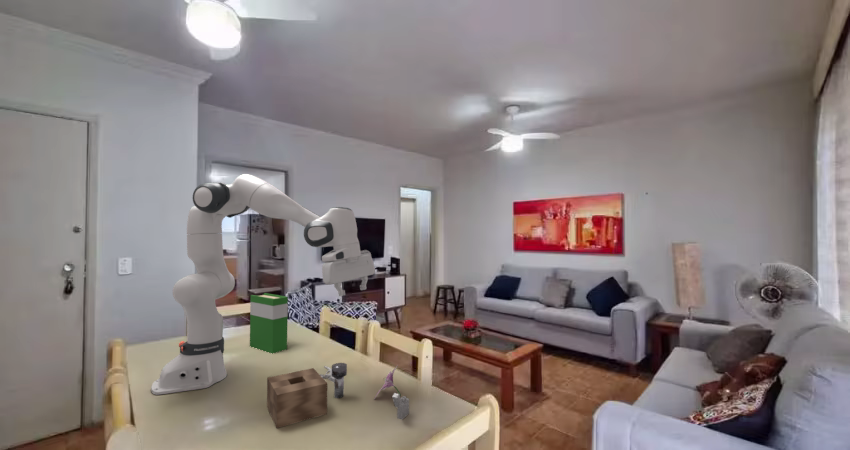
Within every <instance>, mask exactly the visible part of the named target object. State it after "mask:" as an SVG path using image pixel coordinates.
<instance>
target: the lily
mask: <svg viewBox="0 0 850 450" xmlns="http://www.w3.org/2000/svg"><path fill="white" fill-rule="evenodd" d="M398 365H399V364H397V365H396V366H395V368H394V369H393V370H392V371H390V370H389V372H388V373H387V375H386V377H384V378H383V379H382V380H383V381H384V384H383V385H382V387H381V388H380V389H379V390H378V392H377V393H376V395H375V397H374V400H375V399H376V398H377V396H378V395H379V393H380V392H381V391H382V390H384V391H385V389H387V388H391V387H393V388H395V390H396V392H397V394H399V395H400V397H402V396H401V393H400V391H399V390H398V388H397V387H396V386H395V384H394V374H395V371H396V369H397V367H398Z"/></svg>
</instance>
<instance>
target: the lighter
mask: <svg viewBox="0 0 850 450" xmlns="http://www.w3.org/2000/svg"><path fill="white" fill-rule="evenodd" d="M391 397H392V398H391V399H392V401H393V404H394V408H396V409H397V414H396V415H397V416H396V417H397V420H402V421H403V420H404V418H406V417H407V416H408V415H409V414H410V398H408V397H407V396H404V395H403V396H400V394H399V393H398V392H397V393H396V392H394V393H393V394H392V396H391Z"/></svg>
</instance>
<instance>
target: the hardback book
mask: <svg viewBox="0 0 850 450" xmlns="http://www.w3.org/2000/svg"><path fill="white" fill-rule="evenodd" d="M288 298H289V296H284V295H279V294H272V293H267V292H264V293H263V294H262V295H253V294H250V308H249V310H250V312H249V313H250V314H249V315H250V319H249V347H250V346H251V347H250V348H252V347H254V348H253V349H255V348H257V349H256V350H259V349H260V350H259V351H262V350H263V352H265V351H266V353H268V352H269V354H271V353H272V354H271V355H273V353H274V354H277V353H280V352H283V351H286V350H287V349H288V317H289V316H288V311H289V310H288V307H289V305H288V303H289V302H288V301H289V299H288ZM282 350H283V351H282ZM279 351H280V352H279ZM276 352H277V353H276Z"/></svg>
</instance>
